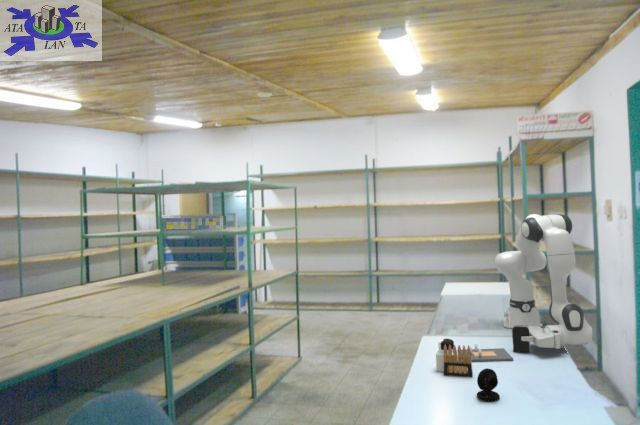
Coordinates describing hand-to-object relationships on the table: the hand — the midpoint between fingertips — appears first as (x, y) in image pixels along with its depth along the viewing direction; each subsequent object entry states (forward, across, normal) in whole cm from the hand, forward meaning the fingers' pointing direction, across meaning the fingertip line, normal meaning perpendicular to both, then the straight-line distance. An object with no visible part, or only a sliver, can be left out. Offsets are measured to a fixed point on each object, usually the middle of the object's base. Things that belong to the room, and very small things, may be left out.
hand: (518, 336), depth 219 cm
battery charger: (-1, 0, +7) cm, 7 cm away
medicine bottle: (+34, +20, +7) cm, 40 cm away
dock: (+16, +5, +6) cm, 18 cm away
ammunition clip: (+31, +27, +7) cm, 42 cm away
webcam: (+25, +49, +7) cm, 55 cm away
